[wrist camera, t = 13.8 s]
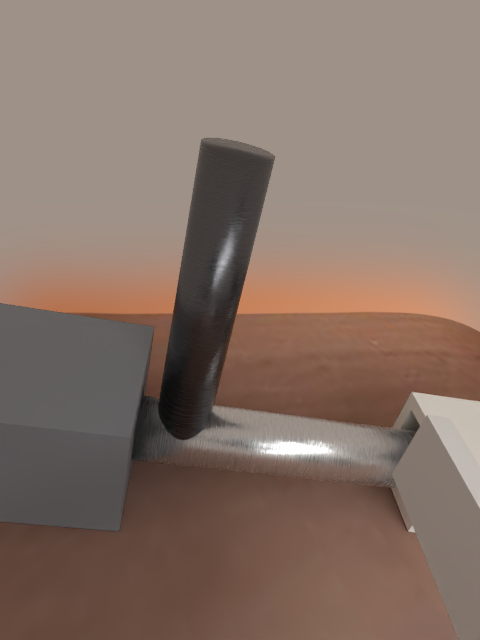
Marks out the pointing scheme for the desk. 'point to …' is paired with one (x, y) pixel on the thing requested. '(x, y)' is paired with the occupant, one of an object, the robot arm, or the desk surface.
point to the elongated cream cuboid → (468, 416)
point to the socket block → (68, 416)
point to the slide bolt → (212, 344)
